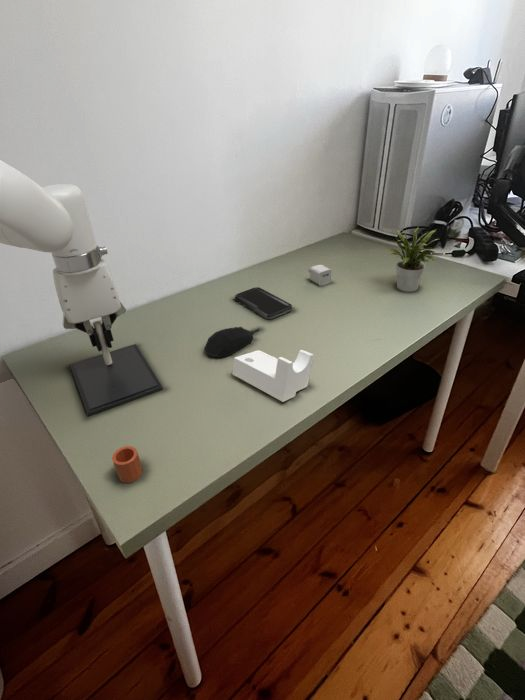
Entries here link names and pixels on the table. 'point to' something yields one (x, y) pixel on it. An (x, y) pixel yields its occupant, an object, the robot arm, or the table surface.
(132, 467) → the pen holder
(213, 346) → the gaming mouse
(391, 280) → the table surface
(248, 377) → the bracket
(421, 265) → the house plant
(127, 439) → the table surface
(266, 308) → the phone
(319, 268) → the usb wall charger
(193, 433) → the table surface
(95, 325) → the stylus
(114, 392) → the tablet
